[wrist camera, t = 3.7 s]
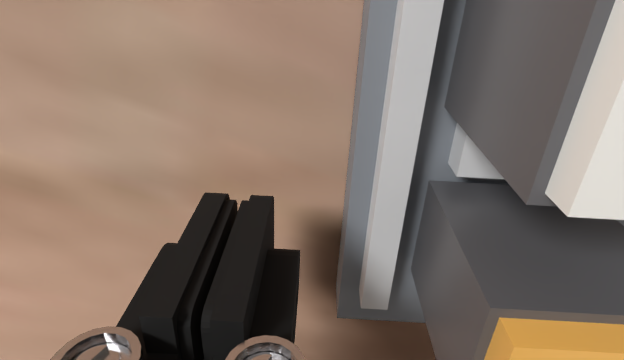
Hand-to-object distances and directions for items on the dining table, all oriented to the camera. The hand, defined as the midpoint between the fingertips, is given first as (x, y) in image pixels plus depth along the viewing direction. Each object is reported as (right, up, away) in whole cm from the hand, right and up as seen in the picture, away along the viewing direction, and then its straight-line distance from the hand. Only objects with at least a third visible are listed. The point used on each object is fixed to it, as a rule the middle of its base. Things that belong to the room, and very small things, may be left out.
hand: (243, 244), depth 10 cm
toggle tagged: (+7, 0, +1) cm, 7 cm away
